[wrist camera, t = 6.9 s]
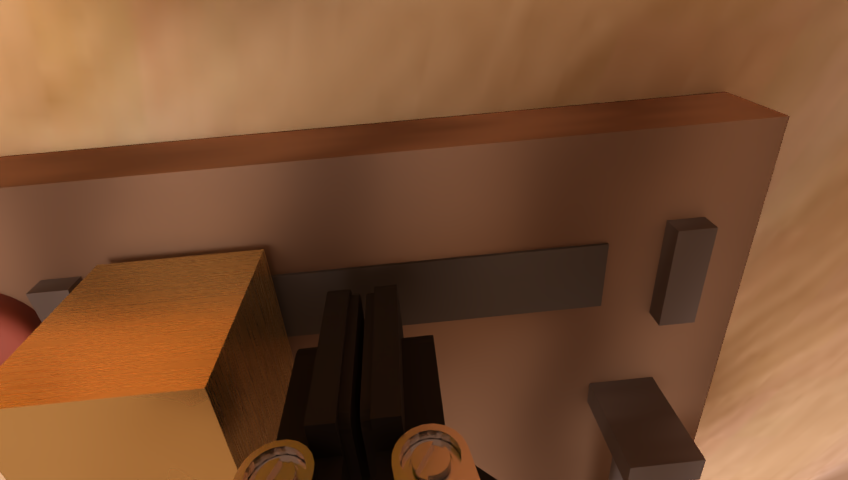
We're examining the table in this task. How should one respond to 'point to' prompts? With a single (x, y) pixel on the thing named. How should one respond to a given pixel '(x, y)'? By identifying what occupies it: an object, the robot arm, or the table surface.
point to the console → (456, 255)
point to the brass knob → (149, 374)
